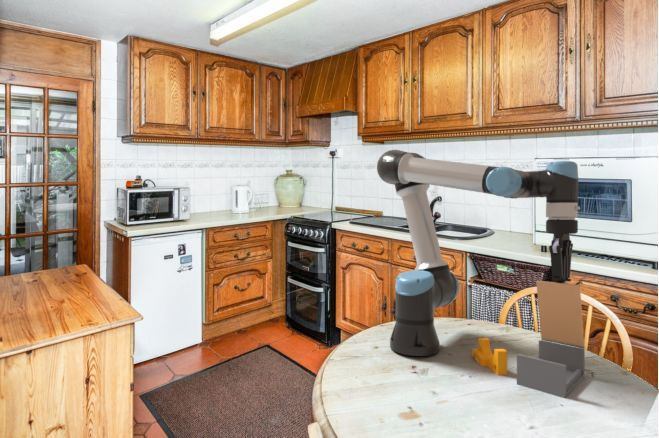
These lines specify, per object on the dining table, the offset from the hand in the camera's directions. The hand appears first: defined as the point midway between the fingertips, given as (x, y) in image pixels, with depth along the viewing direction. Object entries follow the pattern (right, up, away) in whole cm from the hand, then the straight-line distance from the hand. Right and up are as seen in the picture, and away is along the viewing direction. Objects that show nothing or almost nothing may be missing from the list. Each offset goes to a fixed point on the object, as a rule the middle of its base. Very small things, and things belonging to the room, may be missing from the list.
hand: (560, 305), depth 111 cm
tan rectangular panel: (-1, -2, -1) cm, 3 cm away
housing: (-6, -18, -5) cm, 20 cm away
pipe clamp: (-18, -19, +5) cm, 26 cm away
